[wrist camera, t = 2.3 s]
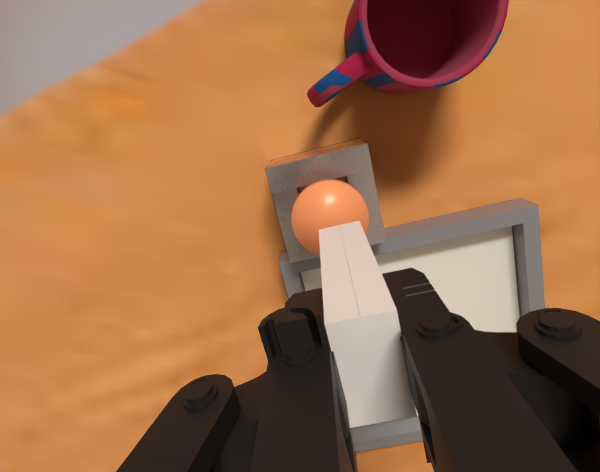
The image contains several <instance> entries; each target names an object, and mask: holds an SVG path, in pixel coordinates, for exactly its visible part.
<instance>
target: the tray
mask: <svg viewBox="0 0 600 472" xmlns="http://www.w3.org/2000/svg"><path fill="white" fill-rule="evenodd" d="M384 233H385V238H386V242H383V243H379V244H374V245H370V247H371V249H372V252H373V254H374V257H375V259H376V261H377V264H378V266H379V268H380V271H381V273H382V274H383V273H388V272H393V271H398V270H402V269H407V268H414V269H416V270H418V271H420V272H422V273H424V274H425V276H426V277H427V279H428V280H429V282H430V283H431V285H432V286H433V288H434V290H435V291H436V292H437V293H438V295H439V296H440V298H441V299H442V301H443V302H444V304H445V305H446V307H447V308H448V310H449V311H450V312H452V313H455V314H458V315H460V316H462V317H464V318H465V319H466V320H467V321H468V322H469V323H470V324H471V326H472V327H473V328H474V330H479V331H485V332H517V329H516V323H517V321H518V320H519V318H520V317H521V316H523V315H525V314H526V313H528V312H530V311H535V310H539V309H545V302H544V286H543V271H542V256H541V241H540V225H539V210H538V205H537V204H535V203H532V202H530V201H527V200H525V199H523V198H519V199H514V200H510V201H505V202H501V203H496V204H492V205H487V206H483V207H479V208H474V209H470V210H465V211H461V212H456V213H452V214H447V215H443V216H438V217H434V218H430V219H425V220H421V221H416V222H412V223H407V224H403V225H398V226H394V227H390V228H385V229H384ZM279 265H280V269H281V272H282V276H283V280H284V283H285V287H286V290H287V294H288V298H290V297H291V296H292V295H293V294H294V293H299V292H304V291H309V290H313V289H318V288H322V276H321V260H320V257H316V258H311V259H307V260H302V261H298V262H293V263H290V260H289V256H288V253H287V251H283V252H281V253H280V259H279ZM415 408H416V407H415ZM416 414H417V416H415V417H409V418H404V419H398V420H392V421H386V422H381V423H375V424H369V425H363V426H357V427H352V428H351V426H350V431H351V435H352V439H353V443H354V447H355V452H361V451H367V450H372V449H378V448H384V447H389V446H395V445H401V444H406V443H412V442H418V441H423V437H422V432H421V426H420V421H419V416H418V413H417V410H416ZM349 425H350V423H349Z"/></svg>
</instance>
